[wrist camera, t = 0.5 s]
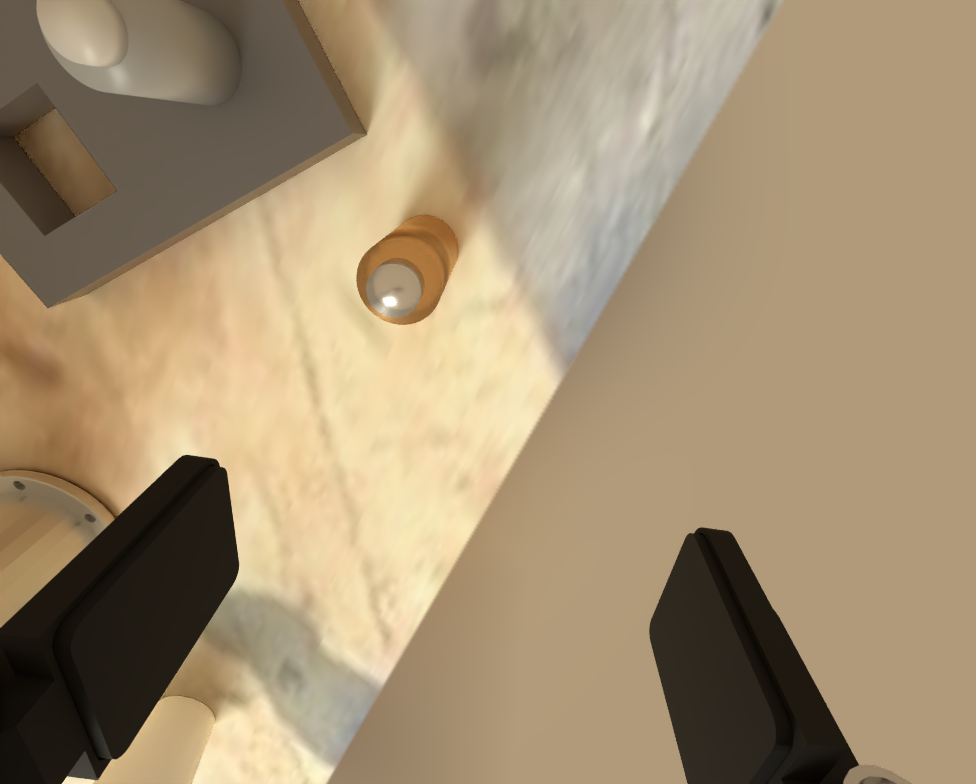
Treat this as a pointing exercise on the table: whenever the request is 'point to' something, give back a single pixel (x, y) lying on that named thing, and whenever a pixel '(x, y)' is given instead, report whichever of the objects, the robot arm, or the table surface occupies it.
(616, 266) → the table surface
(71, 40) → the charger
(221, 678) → the table surface
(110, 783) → the foam cup
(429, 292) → the amber bottle
